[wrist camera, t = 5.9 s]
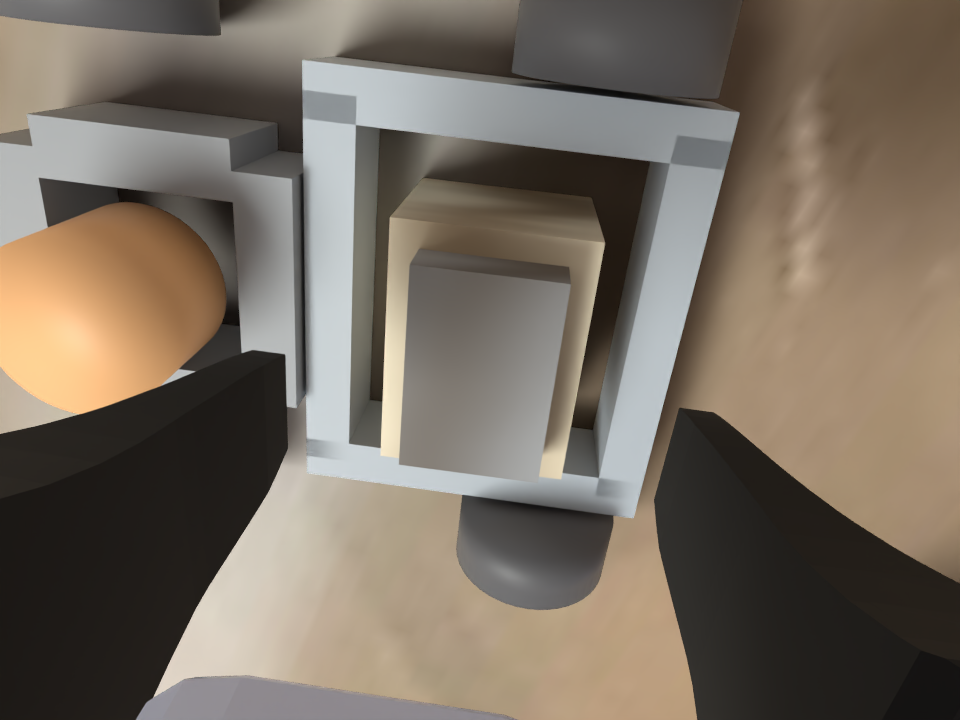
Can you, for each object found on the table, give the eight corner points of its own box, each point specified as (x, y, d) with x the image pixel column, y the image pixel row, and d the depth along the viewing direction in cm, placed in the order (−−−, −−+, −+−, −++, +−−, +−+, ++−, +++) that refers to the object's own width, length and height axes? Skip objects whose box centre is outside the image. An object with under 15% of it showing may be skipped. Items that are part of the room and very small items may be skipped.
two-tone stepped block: (591, 197, 18) (610, 258, 13) (557, 393, 20) (562, 507, 15) (423, 177, 18) (378, 230, 13) (411, 374, 21) (370, 482, 16)
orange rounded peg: (234, 205, 16) (153, 250, 13) (243, 353, 18) (173, 427, 15) (74, 185, 16) (-49, 224, 13) (99, 333, 18) (-4, 402, 15)
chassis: (735, 7, 15) (802, -2, 12) (611, 518, 22) (626, 623, 18) (25, -75, 16) (-145, -111, 12) (112, 448, 23) (21, 536, 19)
